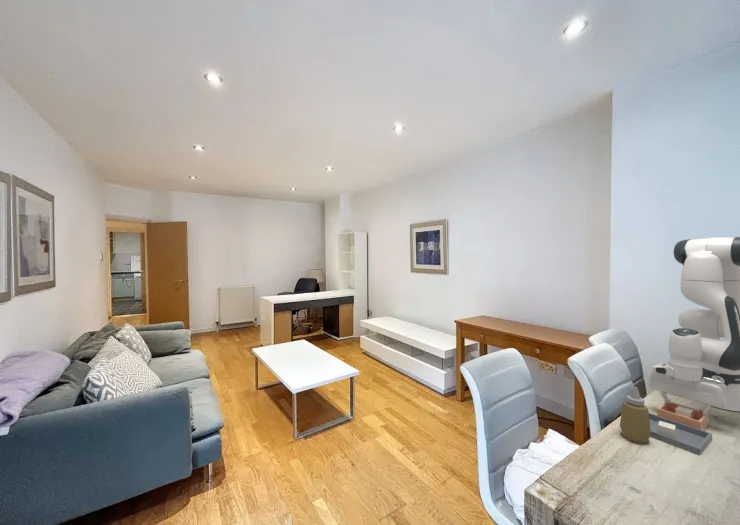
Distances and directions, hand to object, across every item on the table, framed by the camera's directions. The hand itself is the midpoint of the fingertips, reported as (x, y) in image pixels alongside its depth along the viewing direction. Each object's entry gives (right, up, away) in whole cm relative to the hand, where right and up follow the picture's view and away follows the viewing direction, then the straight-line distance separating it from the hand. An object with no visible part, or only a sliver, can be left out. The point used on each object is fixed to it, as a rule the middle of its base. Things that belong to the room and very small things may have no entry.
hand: (684, 409), depth 114 cm
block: (-17, -4, -10) cm, 20 cm away
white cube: (0, -4, 0) cm, 4 cm away
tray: (-14, -5, -9) cm, 18 cm away
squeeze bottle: (-28, -5, -11) cm, 31 cm away
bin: (-2, -5, -1) cm, 5 cm away
